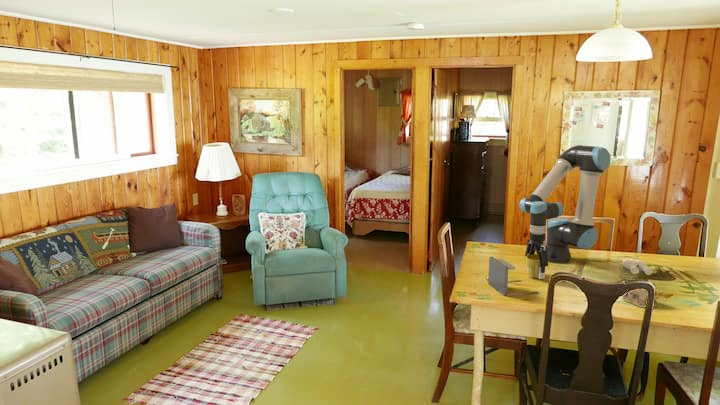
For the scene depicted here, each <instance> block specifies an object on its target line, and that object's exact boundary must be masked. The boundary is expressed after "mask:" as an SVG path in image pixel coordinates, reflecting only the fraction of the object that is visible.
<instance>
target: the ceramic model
mask: <svg viewBox="0 0 720 405" xmlns="http://www.w3.org/2000/svg"><path fill="white" fill-rule="evenodd" d="M654 290H655V295H654V297H655V296H657V294H658V293H657V291H656V289H654ZM622 299H623V300H624V301H625V302H627V303H630V304H632V305H635V306H638V307H640V308H642V309H643V308H644V309H646V308H645V305H646V301H647V291H646V290H642V289H639V290H634V291H632V292H629V293H627V294H626V295H624V296H623V295H622ZM657 305H658V302H657V300H656V299H655V298H654V306H653V309H656V306H657Z"/></svg>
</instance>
